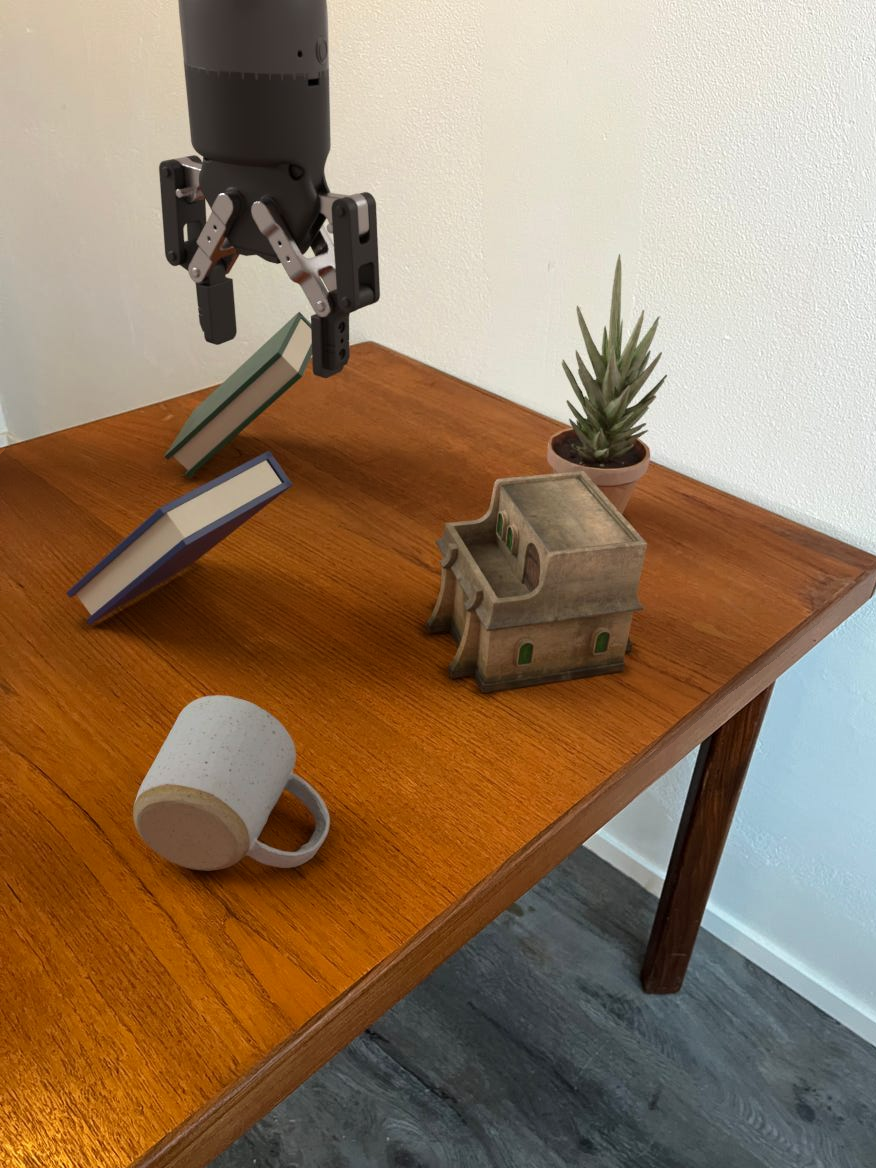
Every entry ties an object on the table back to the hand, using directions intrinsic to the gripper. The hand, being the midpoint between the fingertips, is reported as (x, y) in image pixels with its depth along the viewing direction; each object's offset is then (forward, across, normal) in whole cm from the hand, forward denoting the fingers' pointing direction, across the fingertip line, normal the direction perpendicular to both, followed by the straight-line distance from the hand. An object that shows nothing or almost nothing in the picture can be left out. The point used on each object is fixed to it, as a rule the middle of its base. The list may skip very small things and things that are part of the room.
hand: (274, 357), depth 62 cm
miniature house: (+24, +12, +14) cm, 30 cm away
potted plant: (+24, +8, +34) cm, 43 cm away
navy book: (+17, -9, 0) cm, 20 cm away
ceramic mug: (+24, +8, -15) cm, 29 cm away
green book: (+17, -23, +24) cm, 37 cm away
